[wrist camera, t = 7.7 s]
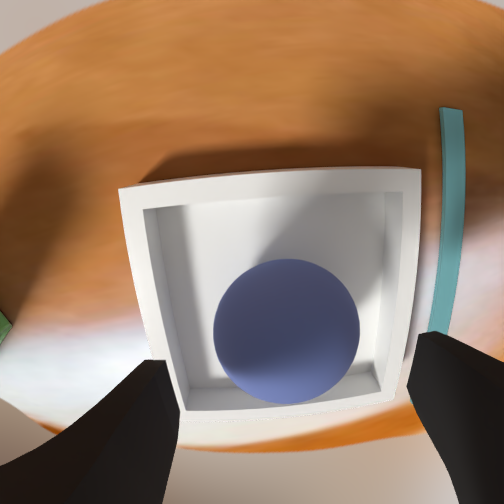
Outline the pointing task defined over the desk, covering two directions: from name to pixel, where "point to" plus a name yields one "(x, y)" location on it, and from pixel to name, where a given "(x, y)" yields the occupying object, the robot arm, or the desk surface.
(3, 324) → the ink box
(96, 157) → the desk surface
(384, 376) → the tray
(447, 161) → the teal line
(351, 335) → the ball
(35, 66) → the desk surface
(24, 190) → the desk surface
